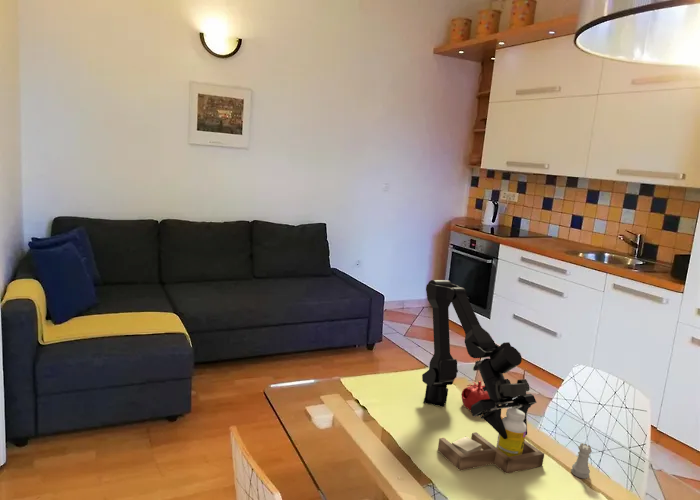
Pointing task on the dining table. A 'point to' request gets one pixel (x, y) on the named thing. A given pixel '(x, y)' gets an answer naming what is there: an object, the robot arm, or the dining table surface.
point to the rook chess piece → (582, 462)
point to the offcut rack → (491, 456)
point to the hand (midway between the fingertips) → (515, 437)
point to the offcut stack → (467, 445)
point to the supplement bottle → (513, 433)
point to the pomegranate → (473, 394)
